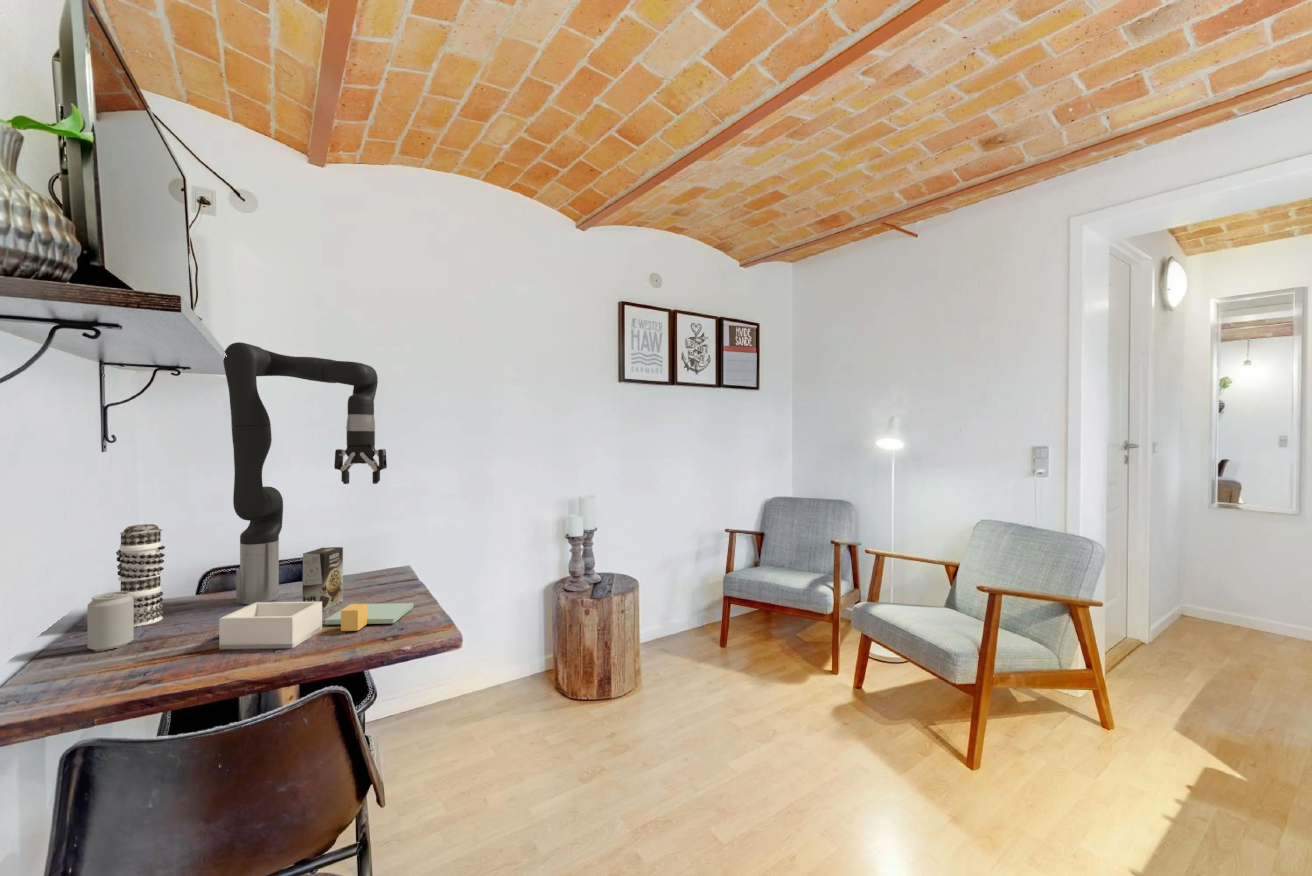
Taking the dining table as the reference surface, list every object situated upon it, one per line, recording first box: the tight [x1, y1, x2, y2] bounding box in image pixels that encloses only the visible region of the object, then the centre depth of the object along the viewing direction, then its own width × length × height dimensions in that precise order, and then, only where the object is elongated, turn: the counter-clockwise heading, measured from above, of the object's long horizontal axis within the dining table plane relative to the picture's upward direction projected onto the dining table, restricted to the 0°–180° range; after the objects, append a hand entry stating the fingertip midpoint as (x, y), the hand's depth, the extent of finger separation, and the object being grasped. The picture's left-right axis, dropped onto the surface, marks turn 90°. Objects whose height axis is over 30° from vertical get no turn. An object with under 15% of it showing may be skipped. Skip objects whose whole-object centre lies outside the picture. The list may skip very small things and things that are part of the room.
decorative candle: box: [115, 523, 166, 628], centre depth 141 cm, size 9×9×25 cm
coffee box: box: [301, 546, 344, 612], centre depth 154 cm, size 9×6×16 cm
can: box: [86, 590, 135, 651], centre depth 124 cm, size 8×8×12 cm
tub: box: [218, 601, 323, 650], centre depth 129 cm, size 16×12×7 cm
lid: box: [324, 602, 414, 632], centre depth 142 cm, size 17×18×6 cm
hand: (360, 483), depth 163 cm, fingers open, 8 cm apart
